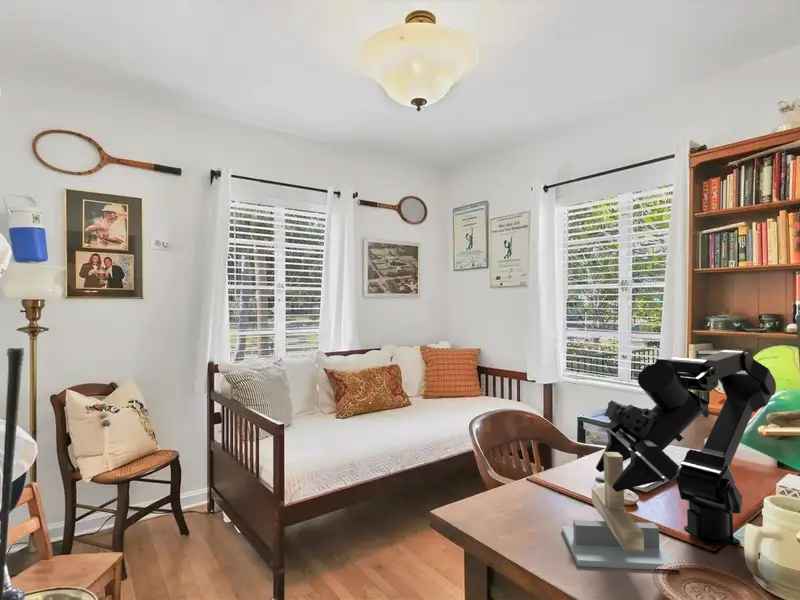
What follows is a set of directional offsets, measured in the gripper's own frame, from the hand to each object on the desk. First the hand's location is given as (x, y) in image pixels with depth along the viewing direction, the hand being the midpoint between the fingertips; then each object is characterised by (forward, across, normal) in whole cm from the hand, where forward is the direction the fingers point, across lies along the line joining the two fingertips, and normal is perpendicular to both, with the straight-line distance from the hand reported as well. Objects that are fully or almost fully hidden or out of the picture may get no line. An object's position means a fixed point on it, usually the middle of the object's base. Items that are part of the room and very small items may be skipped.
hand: (605, 479), depth 82 cm
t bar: (+5, 0, +7) cm, 8 cm away
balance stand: (+8, 0, +10) cm, 13 cm away
